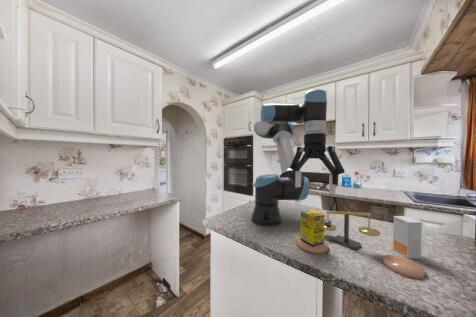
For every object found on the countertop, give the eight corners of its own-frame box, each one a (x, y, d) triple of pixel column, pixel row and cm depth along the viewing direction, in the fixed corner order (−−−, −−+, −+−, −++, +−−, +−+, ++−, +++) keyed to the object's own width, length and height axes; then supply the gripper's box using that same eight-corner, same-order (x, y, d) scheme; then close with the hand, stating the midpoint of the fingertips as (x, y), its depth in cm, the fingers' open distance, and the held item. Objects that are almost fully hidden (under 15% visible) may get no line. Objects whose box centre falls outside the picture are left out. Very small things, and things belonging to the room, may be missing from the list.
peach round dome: (290, 243, 65) (290, 240, 65) (306, 235, 72) (306, 232, 71) (318, 257, 56) (318, 254, 56) (334, 247, 63) (334, 243, 63)
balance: (316, 235, 72) (317, 203, 71) (324, 231, 75) (324, 201, 75) (376, 259, 55) (377, 217, 55) (382, 252, 59) (382, 213, 59)
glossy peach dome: (378, 265, 52) (378, 261, 52) (387, 255, 58) (387, 251, 58) (422, 283, 45) (422, 278, 45) (427, 269, 50) (427, 265, 50)
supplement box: (313, 247, 60) (313, 216, 60) (300, 240, 65) (300, 211, 65) (324, 243, 63) (325, 213, 62) (310, 236, 68) (311, 209, 68)
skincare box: (392, 248, 62) (392, 215, 61) (404, 248, 62) (405, 215, 61) (408, 258, 56) (409, 222, 55) (421, 259, 56) (422, 222, 55)
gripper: (281, 135, 72) (281, 185, 73) (346, 129, 52) (344, 198, 53) (293, 136, 77) (292, 184, 77) (357, 130, 56) (355, 195, 57)
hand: (313, 190), depth 65 cm, fingers open, 13 cm apart
